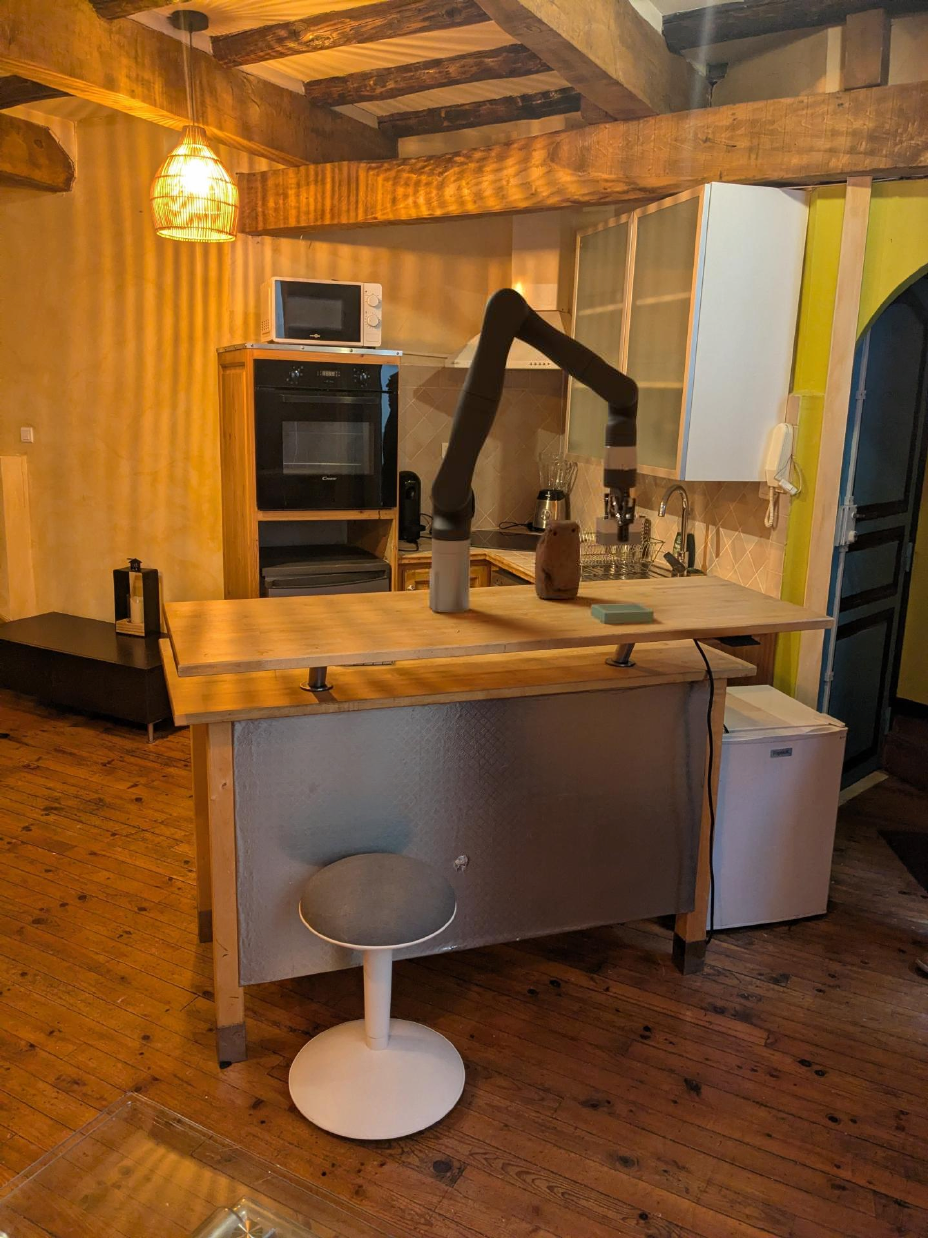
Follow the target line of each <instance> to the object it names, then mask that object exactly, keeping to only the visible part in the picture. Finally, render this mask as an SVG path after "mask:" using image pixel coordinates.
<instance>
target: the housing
mask: <svg viewBox="0 0 928 1238" xmlns="http://www.w3.org/2000/svg"><path fill="white" fill-rule="evenodd" d="M642 528H643V518H642V517H641V518H640V517H638V516H635V515H634V523H633V524H631V525H629V540H628V542H619V541H618V536H619V522H618V517H609V515H605V514H604V515H603V516H598V517H595V544H597V545H600V546H602V547H619V546H639V545H640V546H641V545H642V531H643V529H642Z"/></svg>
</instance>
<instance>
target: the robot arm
mask: <svg viewBox="0 0 928 1238" xmlns="http://www.w3.org/2000/svg"><path fill="white" fill-rule="evenodd" d="M481 324H482V325H481V328H480V329H481V330H480V334H479V337H478V341H477V342H478V343H477V346H476V350H475V351H474V355H473V357H472V360H471V362H470V365H469V367H468V370H467V373H466V377H465V379H464V383H463V385H462V387H461V391H460V394H459V397H458V401H457V404H456V407H455V412H454V415H453V420H452V424H451V429H450V436H449V441H448V444H447V447H446V448H447V449H446V452H445V455H444V457H443V460H442V462H441V464H440V467H439V469H438V471H437V474H436V476H435V477H434V480H433V482H432V485H431V489H430V490H431V491H430V494H431V498H432V503H433V504H432V505H433V507H432V510H433V511H432V513H433V514H432V516H433V517H432V523H431V524H432V526H431V568H430V569H429V606H428V607H429V608H430V609H431V610H432V612H434V613H437V612H439V613H447V614H448V613H449V614H450V613H453V614H454V613H463V612H467V611H469V610H470V587H471V586H470V584H471V583H470V582H471V581H470V580H471V579H470V578H471V532H472V531H471V530H472V511H473V510H472V507H473V506H472V503H473V501H472V500H473V487H472V482H473V477H474V472H475V468H476V464H477V461H478V458H479V455H480V453H481V451H482V448H483V446H484V445H485V443H486V440H487V438H488V436H489V434H490V431H491V429H492V427H493V424H494V421H495V419H496V416H497V413H498V410H499V407H500V403H501V399H502V395H503V393H504V392H503V391H504V386H505V380H506V379H505V377H506V371H507V370H506V369H507V362H508V359H509V358H508V357H509V354H510V351H511V348H512V345H513V342H514V340H515V339H517V340H519V341H522V342H523V343H525V344H527V345H529V346H530V347H532V348H533V349H535V350H537V351H538V352H540V353H541V354H543V356H545V358H547V359H548V360H549V361H551V362H552V363H553V364H554V365H556V366H557V367H558V368H560V369H561V370H562V371H563V372H565V373H566V374H568V375H569V376H570V377H572V378H573V379H575V380H576V381H577V382H579V383H580V384H581V385H584V386H585V387H587V388H589V389H590V390H592V391H593V392H594V393H595V394H596V395H598V396H599V397H600V398H601V399H603V400H604V401H605V402H606V403H607V422H606V426H605V433H604V434H605V437H604V438H605V441H604V454H603V476H602V477H603V479H602V480H603V481H602V486H603V487H604V488H606V489H609V492H605V493H604V494H603V502H604V515H609V517H618V522H619V536H618V541H619V542H628V540H629V525H631V524H633V523H634V515H635V514H636V504H637V499H636V497H631V493H630V491H631V490H630V489H634V488H636V487H637V485H638V484H637V480H638V451H637V443H638V441H637V439H638V438H637V437H638V433H637V432H638V430H637V429H638V428H637V418H638V410H639V409H638V407H639V396H640V395H639V394H640V393H639V392H640V391H639V387H638V384H637V382H636V381H635V380H634V379H633V378H631V377H629V376H628V375H626V374H625V373H623V372H621V371H620V370H618V369H617V368H615V367H613V366H612V365H611V364H608V363H607V362H606V360H605V359H603V358H602V357H601V356H600V355H598V354H597V353H596V352H594V351H592V350H591V349H589V348H588V347H587V346H586V345H585V344H583V343H581V342H579V341H578V340H577V339H574V337H571V336H569V335H568V334H565V333H564V332H563V331H560V330H559V329H557V328H555V326H553V325H552V324H550V323H548V322H547V321H546V320H545V319H544V318H543V317H542V316H541V315H539V313H537V312H536V311H535V310H534V308H532V307H531V305H529V304H528V302H527V300H526V299H525V297H524V296H523V295H522V294H521V293H519V292H518V291H517V290H516V289H513V288H509V287H504V288H500V289H498V290H496V291H494V293H492V294H491V295H490V296H489V298H488V299H487V301H486V305H485V308H484V313H483V318H482V323H481Z"/></svg>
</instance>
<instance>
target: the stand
mask: <svg viewBox="0 0 928 1238" xmlns="http://www.w3.org/2000/svg"><path fill="white" fill-rule="evenodd" d="M654 613H655V611H654V610H652V609H650V608H648V607H646V606H644V605H643V604H641V603H638V602H637V603H610V604H609V603H606V604H605V603H604V604H602V603H601V604H591V607H590V616H592V617H593V618H595V619H596V620H598V619H599V620H600V622H601V621H602V622H603V624H604V623H606V624H626V623H627V624H628V623H632V624H633V623H634V624H635V623H653V622H654ZM599 620H598V621H599ZM602 622H601V623H602Z"/></svg>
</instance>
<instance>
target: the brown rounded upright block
mask: <svg viewBox="0 0 928 1238" xmlns="http://www.w3.org/2000/svg"><path fill="white" fill-rule="evenodd" d="M544 525H545V530H544V532H543V534H542V535H541V536H540V539H539V542H538V544H537V546H536V548H535V550H536V551H535V557H534V558H535V559H534V561H535V563H534V588H535V593H536V596H537V597H538V598H540V599H547V600H548V599H553V600H556V599H558V600H562V599H563V600H568V599H575V598H576V597H577V596H578V595H579V589H580V588H579V587H580V580H581V579H580V578H581V568H580V564H581V537H580V536H581V535H580V531H581V526H580V524H578V523H577V522H576V521H575V520H571V519H564V520H561V519H547V520H545V523H544Z"/></svg>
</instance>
